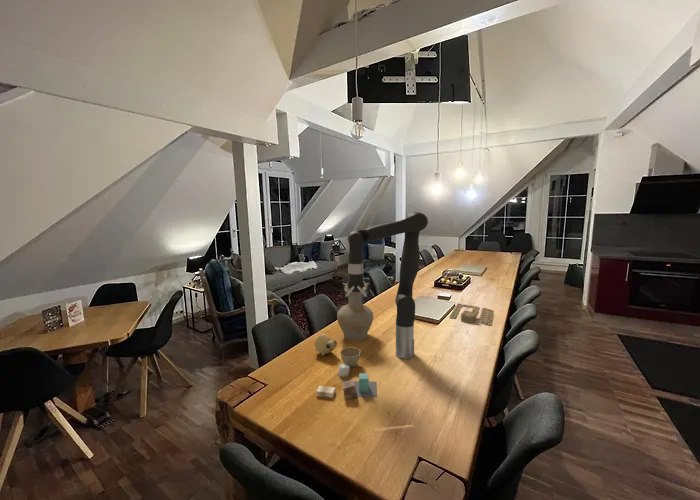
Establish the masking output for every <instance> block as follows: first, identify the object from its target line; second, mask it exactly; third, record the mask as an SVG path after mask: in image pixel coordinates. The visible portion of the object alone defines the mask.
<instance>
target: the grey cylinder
mask: <svg viewBox="0 0 700 500" xmlns="http://www.w3.org/2000/svg"><path fill="white" fill-rule="evenodd" d="M350 369H351V368H350V366H349V365H347V364H344V363H341V364H339V366H338V371H337V372H338V373H337V375H338V376H339V377H341V378H346V377H348V376H349V373H350Z"/></svg>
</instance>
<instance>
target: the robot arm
mask: <svg viewBox="0 0 700 500" xmlns="http://www.w3.org/2000/svg"><path fill="white" fill-rule="evenodd" d="M428 220H429V219H428V218H427V216H426V215H425V214H424V213H422V212H419V211H418V212H417V211H411V212H410V213H408V214H407V216H406V217H405V218H404V219H401V220H397V221H392V222H385V223H382V224H377V225H373V226H369V227H368V228H363V229H358V230H354V231H351V232H349V234H348V235H347V241H348V246H349V249H348V250H349V252H348V257H347V258H348V265H347V276H348V277H347V278H348V281H347V283H345V282H342V283H341V284H342V285H341V295H342V296H344V297H345V303H346V305H347V304H349V296H348V295H349V294H350V293H351V291H352V292H361V293H362V295H363V305H366V303H367V302H368V297H369V296H371V283H370V282H366V283H365V282H364V258H363V257H364V255H363V252H364V244H365V243H366V242H376V241H379V240H382V239H386V238H390V237H392V236H396V235H400V234H404V238H403V239H404V240H403V245H402V252H401V258H400V260H401V261H400V267H399V268H400V269H399V284H398V287H397V291H396V295H395V299H394V300H395V305H396V319H395V355H396V357H397V358H400V359H403V360H406V359H407V360H408V359H411V358H412V359H413V358H415V338H414V336H415V331H414V329H415V321H416V302H415V299H414V298H413V291H414V290H413V288H414V282H415V280H416V278H417V276H418V272H419V267H420V260H421V259H420V258H421V252H420V251H421V250H420V247H419V245H420V244H419V239H420V238H419V237H420V232H421V231H423V230H425V228H427V226H428V223H429V221H428ZM346 286H348V287H349V290H348V291H347V293H346V292H345V288H346ZM363 287H366V289H367V292H366V290H365V291H364V289H363Z"/></svg>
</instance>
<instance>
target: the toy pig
mask: <svg viewBox="0 0 700 500" xmlns="http://www.w3.org/2000/svg"><path fill="white" fill-rule="evenodd" d="M337 343H338V342H337V341H336V340H334V339H332V337H330V336H328V335H327V334H325V333H322V334H319V335H318V336H317V337H316V339H315V341H314V347H315V351H316V352H318V353H320V354H321V356H322V357H324V356H325V355H327V354H330V353H331V352H332V351H333V350H334V349H336V348H337Z"/></svg>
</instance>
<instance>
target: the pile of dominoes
mask: <svg viewBox="0 0 700 500" xmlns="http://www.w3.org/2000/svg"><path fill="white" fill-rule="evenodd" d="M462 307H463V308H468V309H472V310H471V311H469V310H463V311H462V313H461V314H460V322H461V323H468V324H474V323H475V321H476V318H477V316H478V314H479V311H480V314H479V317H478V323H479V324H482V325H484V326H488V327H491V326H492V325H493V318H494V313H495V312H494V310H493V309H491V308H490V309H489V308H486V307H483V308H481V310H480V307H479V306H476V305H475V306H474V305H470V304H463V303H456V305H455V307H454V308H453V310H452V312H451V313H450V315H449V316H448V317H449V319H453V320H456V319H457V316H458V314H459V312H460V310H461V309H462Z"/></svg>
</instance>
